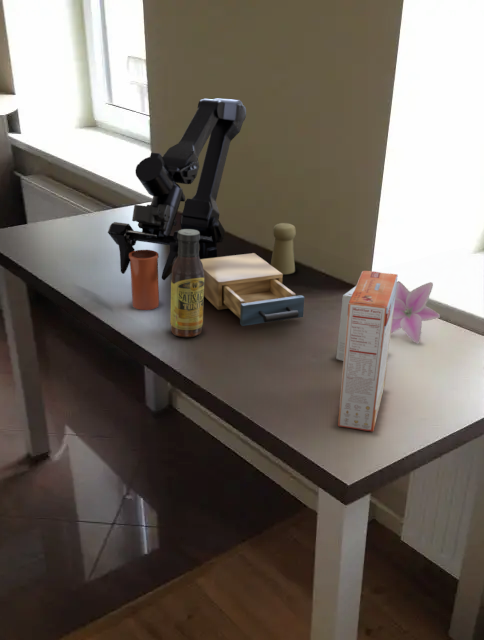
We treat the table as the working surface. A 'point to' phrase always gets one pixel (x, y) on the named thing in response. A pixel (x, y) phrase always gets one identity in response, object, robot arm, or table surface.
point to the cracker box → (366, 349)
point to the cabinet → (234, 274)
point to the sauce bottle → (187, 286)
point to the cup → (144, 279)
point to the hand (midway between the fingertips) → (142, 276)
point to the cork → (283, 248)
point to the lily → (412, 310)
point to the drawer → (262, 301)
